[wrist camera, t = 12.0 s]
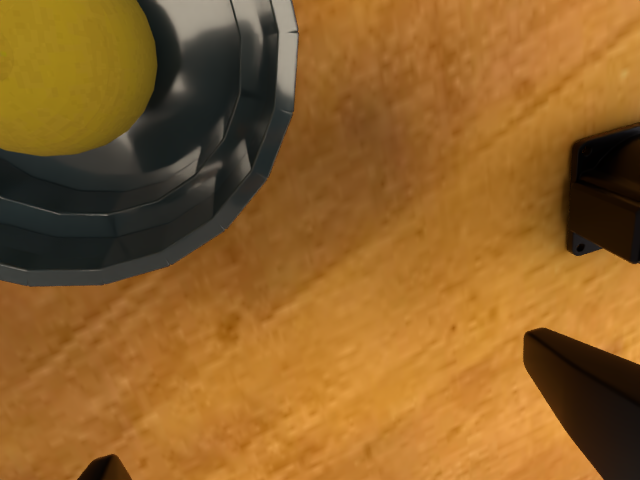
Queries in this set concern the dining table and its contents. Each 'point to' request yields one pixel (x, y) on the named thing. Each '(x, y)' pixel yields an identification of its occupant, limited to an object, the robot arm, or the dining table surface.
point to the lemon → (72, 73)
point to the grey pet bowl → (160, 153)
